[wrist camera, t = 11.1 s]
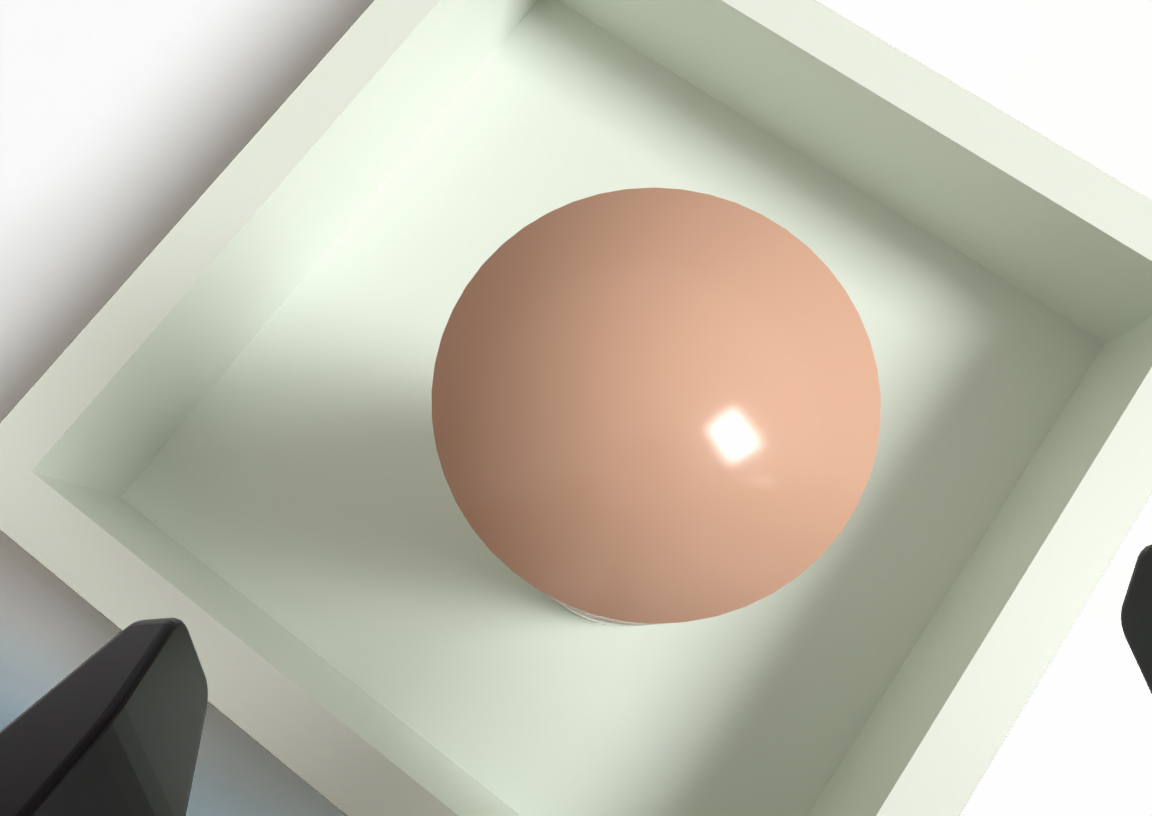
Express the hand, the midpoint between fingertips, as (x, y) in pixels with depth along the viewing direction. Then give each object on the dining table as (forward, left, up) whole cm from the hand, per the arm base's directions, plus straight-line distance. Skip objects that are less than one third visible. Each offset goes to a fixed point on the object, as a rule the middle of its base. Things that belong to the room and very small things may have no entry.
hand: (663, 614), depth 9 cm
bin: (+3, +2, -10) cm, 11 cm away
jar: (+2, +1, -9) cm, 9 cm away
